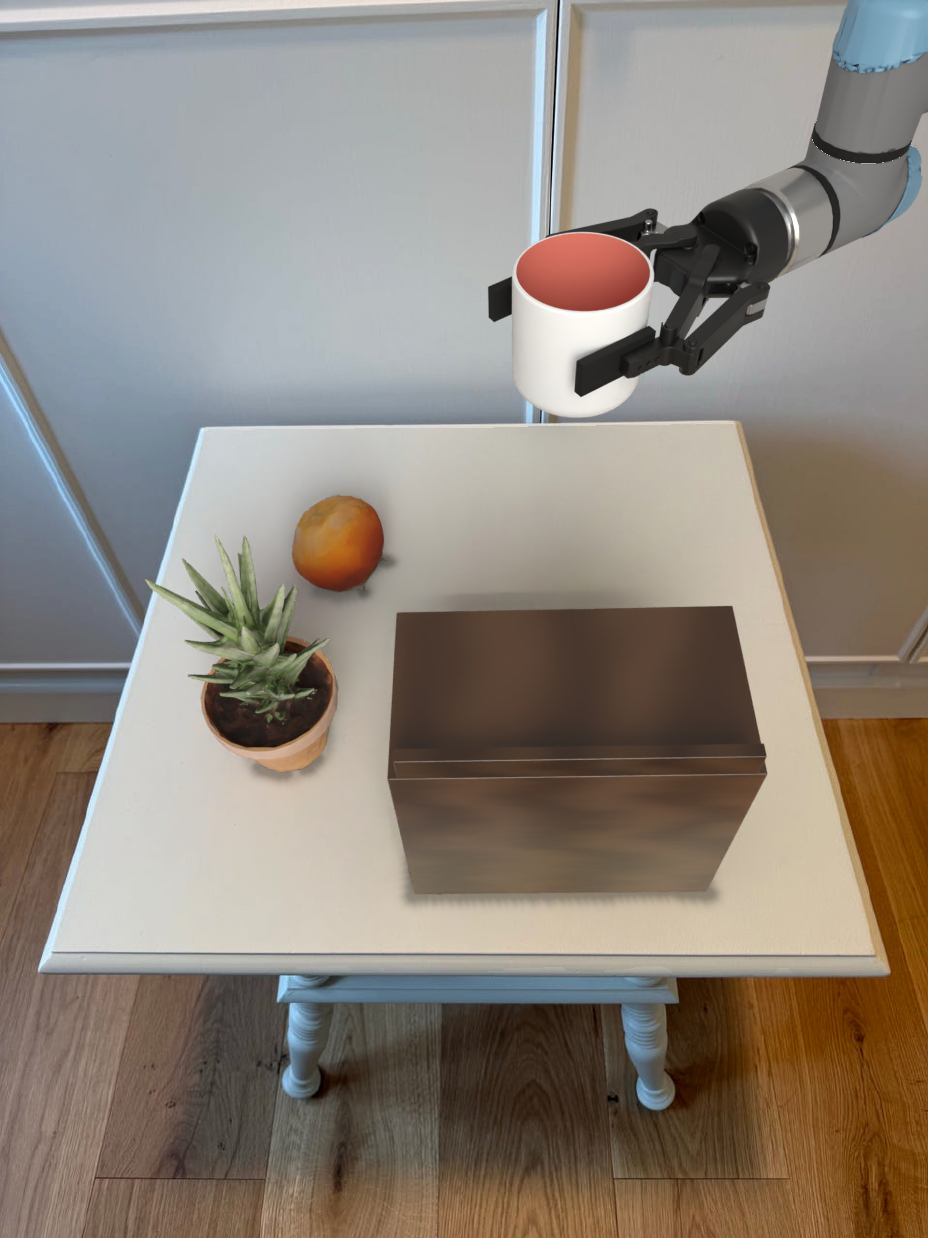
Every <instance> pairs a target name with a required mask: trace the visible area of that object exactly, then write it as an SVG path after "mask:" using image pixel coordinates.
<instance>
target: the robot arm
mask: <svg viewBox="0 0 928 1238" xmlns="http://www.w3.org/2000/svg"><path fill="white" fill-rule="evenodd" d="M824 82H825V83H824V87H823V90H822V95H821V99H820V103H819V108H818V113H817V116H816V120H817V121H816V120H815V122H816V123H815V122H814V124H813V128H812V132H811V135H810V139H809V141H808V145H807V150H806V153H805V157H804V159H803V160H802V161H799V162H797V163H796V164H793V165H792V166H790V167H788V168H785V169H783V170H781V171H778V172H776V173H773V174H772V175H769V176H767V177H764V178H762V179H760V180H757V181H754V182H752V183H750V184H748V185H747V186H744V188H741V189H738V190H736V191H734V192H732V193H729V194H727V195H724V196H722V197H721V198H718V199H716V200H714V201H711V202H710V203H707V204H706V205H704V207H703V208H702V209H701V210H700V211H699V212H698V213H697V214H696V215H695V217H694V218H693V219H692V220H691V221H689V222H688V223H684V224H677V225H672V226H669V227H668V226H666V225H664V224H663V223H661V222H659V221H658V217H659V216H658V215H659V211H658V210H657V209H655V208H652V207H651V208H645V209H642V210H641V211H638V212H637V213H635V214H633V215H630V216H628V217H623V218H618V219H613V220H609V221H604V222H600V223H595V224H591V225H586V226H581V227H577V228H572V229H566V230H563V231H559V232H554V233H550V234H547V235H545V237H544V238H547V237H550V236H554V235H558V234H563V233H571V232H593V233H601V234H606V235H611V236H614V237H617V238H620V239H623V240H625V241H627V242H629V243H631V244H633V245H634V246H636V247H637V248H639V249H640V250H641V251H642V252H643V253H644V254H645V255H646V256H647V257H648V258H649V260H650V261H651V254H652V252H653V251H655V252H654V256H653V263H652V266H653V270H654V281H653V283H659V284H660V285H663V286H665V287H667V288H669V289H670V290H671V292H673V294H674V295H675V296H677V297H678V299H677V301H676V302H675V304H674V306H673V308H672V310H671V311H670V313H669V315H668V317H667V318H666V320H665V322H663V321H662V322H660V323H661V324H660V330H659V335H658V336H657V337H656V335H657V330H655V328H653V327H652V326H650V325H647V327H645V328H643V329H641V330H639V331H637V332H635V333H633V334H631V335H629V336H627V337H625V338H623V339H621V340H619V341H616V342H614V343H612V344H610V345H608V346H606V347H604V348H602V349H600V350H598V351H596V352H594V353H592V354H590V355H588V356H586V357H584V358H581V359H579V360H577V362H576V376H575V389H574V392H575V393H576V394H578V395H579V396H580V397H583V396H585V395H587V394H589V393H591V392H593V391H595V390H597V389H598V388H600V387H602V386H604V385H606V384H608V383H610V382H612V381H614V380H616V379H618V378H620V377H622V376H625V377H626V378H627V379H629V378H635V377H637V376H639V375H640V376H641V375H642V374H644V373H646V372H649V371H651V370H653V369H654V368H656V367H659V366H660V367H668V366H670V365H673V366H675V367H677V368H678V372H679V373H680V374H681V375H683V376H686V377H687V376H688V377H689V376H693V375H694V374H696V373H697V372H698V371H699V370H700V369H701V368H702V367H703V366H704V365H705V364H706V363H707V362H708V361H709V360H710V359H711V358H712V357H713V356H714V355H715V354H716V353H717V352H718V351H720V350H721V348H722V347H723V346H724V345H725V344H726V343H727V342H728V341H729V340H730V339H732V337H734V335H736V334H737V332H739V330H741V329H742V328H743V327H744V326H747V325H749V324H751V323H753V322H755V321H758V320H760V319H762V318H763V317H764V313H765V310H766V306H767V302H768V298H769V295H770V290H771V285H770V283H771V282H773V281H775V280H776V279H778V278H780V277H782V276H784V275H787V274H788V273H791V272H792V271H795V270H797V269H799V268H801V267H803V266H805V265H807V264H809V263H811V262H813V261H815V260H817V259H819V258H822V257H823V256H825V255H826V254H830V253H832V252H834V251H835V250H838V249H840V248H842V247H844V246H847V245H849V244H851V243H853V242H856V241H857V240H860V239H864V238H866V237H868V236H872V235H874V234H875V233H877V232H879V231H880V230H881V229H882V228H883V227H884V226H886V225H887V224H889V223H891V222H892V221H894V220H896V219H898V218H899V217H901V216H902V215H903V214H904V213H906V212H907V211H908V210H909V209H910V208H911V206H912V205H913V203H914V202H915V201H916V199H917V197H918V195H919V193H920V190H921V187H922V182H923V176H922V167H921V166H922V165H921V164H922V157H921V153H920V151H919V149H918V147H917V148H915V147H912V146H910V145H911V142H912V141H913V139H914V137H915V134H916V131H917V130H918V126H919V124H920V122H921V119H922V115H924V114H927V113H928V0H848V1H847V3H846V7H845V8H844V10H843V13H842V17H841V19H840V23H839V26H838V29H837V32H836V33H835V37H834V39H833V42H832V50H831V57H830V61H829V67H828V69H827V75H826V78H825V81H824ZM812 139H813V141H812ZM813 142H814V143H813ZM816 146H817V147H818V148H817V147H816ZM917 149H918V150H917ZM821 150H822V151H823V152H822V151H821ZM825 153H826V154H825ZM827 154H828V155H827ZM829 155H830V156H829ZM899 157H900V158H899ZM840 159H841V160H840ZM843 160H845V161H843ZM892 160H893V161H892ZM847 161H850V162H847ZM852 162H855V163H852ZM882 162H884V163H882ZM861 163H876V164H861ZM487 298H488V299H487V307H488V309H487V311H488V314H487V315H488V319H489V320H491V321H492V322H493V323H496V322H498V321H500V320H502V319H506V318H507V317H510V316H512V275H511V276H509V277H506V278H504V279H502V280H500V281H498V282H495V283H494V284H491V285H489V286H487ZM710 299H726V300H725V301H724V302H723V303H722V304H721V305H720V306H719V307H718V308H716V309H715V311H714V312H712V313H711V314H710V315H709V316H708V317H707V318H706V319H705V320H704V321H702V323H701V324H700V325H698V327H697V328H695V329H694V331H693V332H691V333H690V334H689V332H690V331H691V328H692V326H693V325H694V323H695V321H696V319H697V318H699V317H700V315H701V314H702V311H703V309H704V308H705V306H706V304H707V302H709V301H710ZM688 334H689V335H688Z"/></svg>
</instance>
